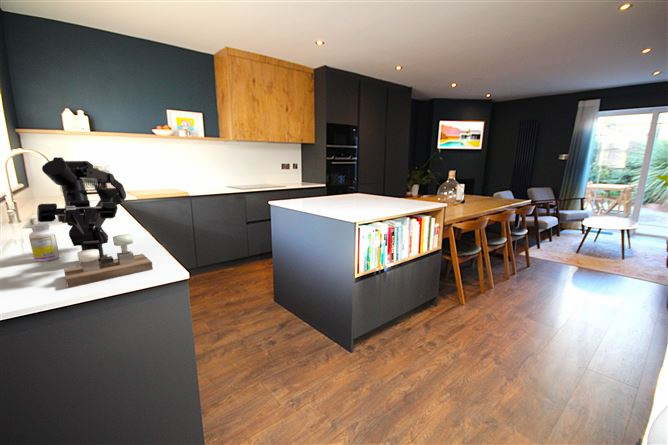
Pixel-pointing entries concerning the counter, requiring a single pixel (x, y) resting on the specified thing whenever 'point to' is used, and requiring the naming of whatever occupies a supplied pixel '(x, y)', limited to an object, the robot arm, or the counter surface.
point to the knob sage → (123, 242)
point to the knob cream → (88, 255)
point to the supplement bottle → (43, 243)
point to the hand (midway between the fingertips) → (85, 233)
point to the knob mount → (106, 268)
